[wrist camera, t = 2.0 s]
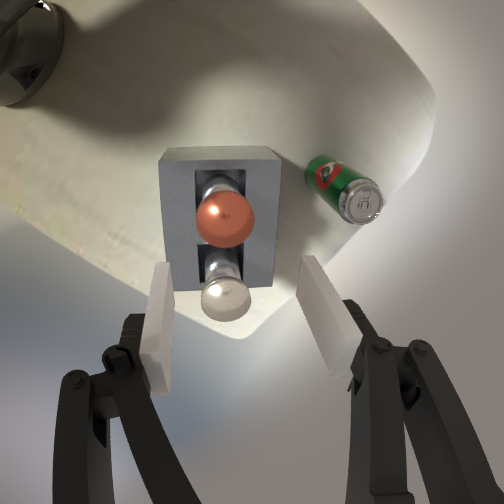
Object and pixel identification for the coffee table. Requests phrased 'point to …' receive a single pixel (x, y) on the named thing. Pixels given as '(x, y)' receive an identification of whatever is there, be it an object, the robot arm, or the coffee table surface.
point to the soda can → (345, 190)
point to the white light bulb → (224, 286)
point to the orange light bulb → (224, 213)
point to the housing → (190, 196)
